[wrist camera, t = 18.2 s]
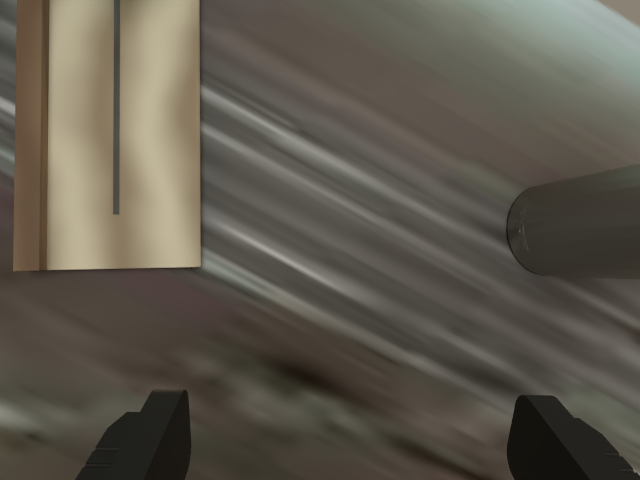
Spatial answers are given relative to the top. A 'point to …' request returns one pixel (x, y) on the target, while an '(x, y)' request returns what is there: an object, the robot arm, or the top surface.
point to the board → (107, 135)
